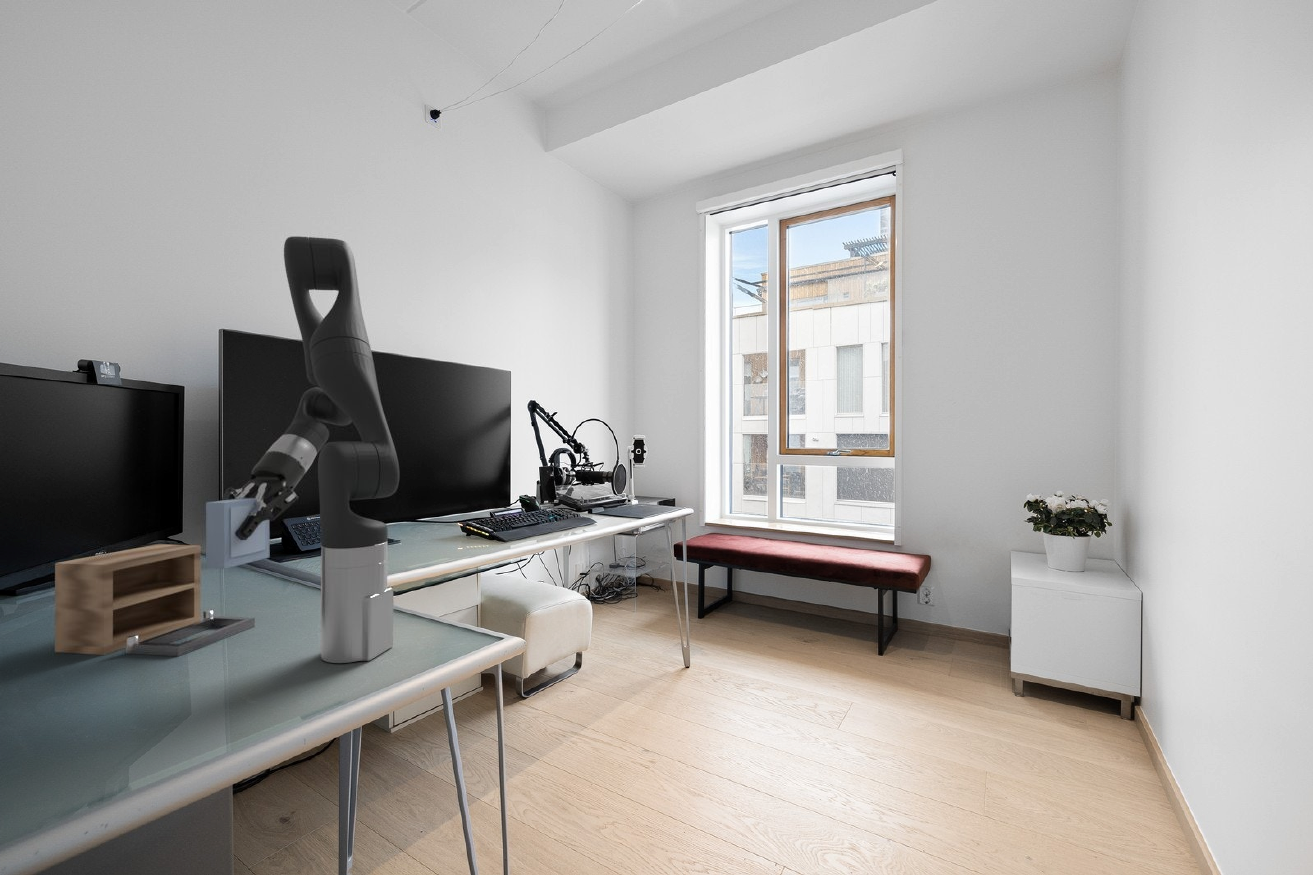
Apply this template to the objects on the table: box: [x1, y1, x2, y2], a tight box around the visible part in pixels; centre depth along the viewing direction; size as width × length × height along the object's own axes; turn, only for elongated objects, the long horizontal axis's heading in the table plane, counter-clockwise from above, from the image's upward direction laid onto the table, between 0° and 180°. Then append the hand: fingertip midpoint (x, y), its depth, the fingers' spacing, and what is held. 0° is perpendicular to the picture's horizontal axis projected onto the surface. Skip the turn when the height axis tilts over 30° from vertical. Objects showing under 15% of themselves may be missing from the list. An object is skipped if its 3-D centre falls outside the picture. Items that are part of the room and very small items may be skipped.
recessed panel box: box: [205, 498, 271, 570], centre depth 98 cm, size 4×9×11 cm, turn 171°
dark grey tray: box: [125, 609, 256, 657], centre depth 94 cm, size 10×14×2 cm, turn 173°
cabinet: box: [54, 543, 202, 656], centre depth 96 cm, size 9×16×14 cm, turn 173°
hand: (229, 536), depth 96 cm, fingers closed on recessed panel box, 3 cm apart
